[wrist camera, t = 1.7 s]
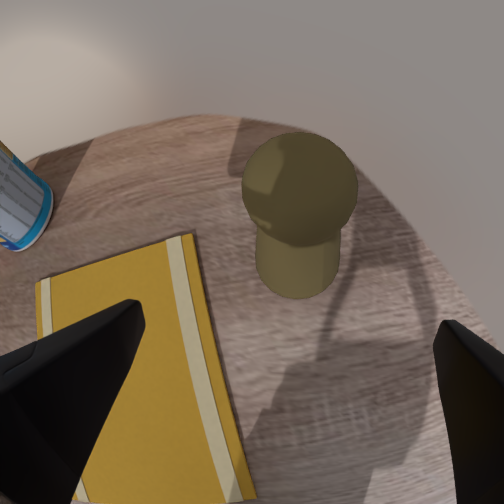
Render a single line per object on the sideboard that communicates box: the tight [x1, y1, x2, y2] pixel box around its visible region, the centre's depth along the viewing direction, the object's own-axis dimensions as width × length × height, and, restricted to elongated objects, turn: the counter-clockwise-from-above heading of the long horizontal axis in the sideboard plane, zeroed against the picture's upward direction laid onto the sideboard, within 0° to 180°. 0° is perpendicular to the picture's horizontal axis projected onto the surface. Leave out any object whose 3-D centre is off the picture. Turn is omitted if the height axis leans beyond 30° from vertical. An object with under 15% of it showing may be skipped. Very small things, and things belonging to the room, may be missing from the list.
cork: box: [242, 132, 358, 299], centre depth 17 cm, size 6×6×11 cm
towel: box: [36, 233, 257, 504], centre depth 20 cm, size 20×16×1 cm
